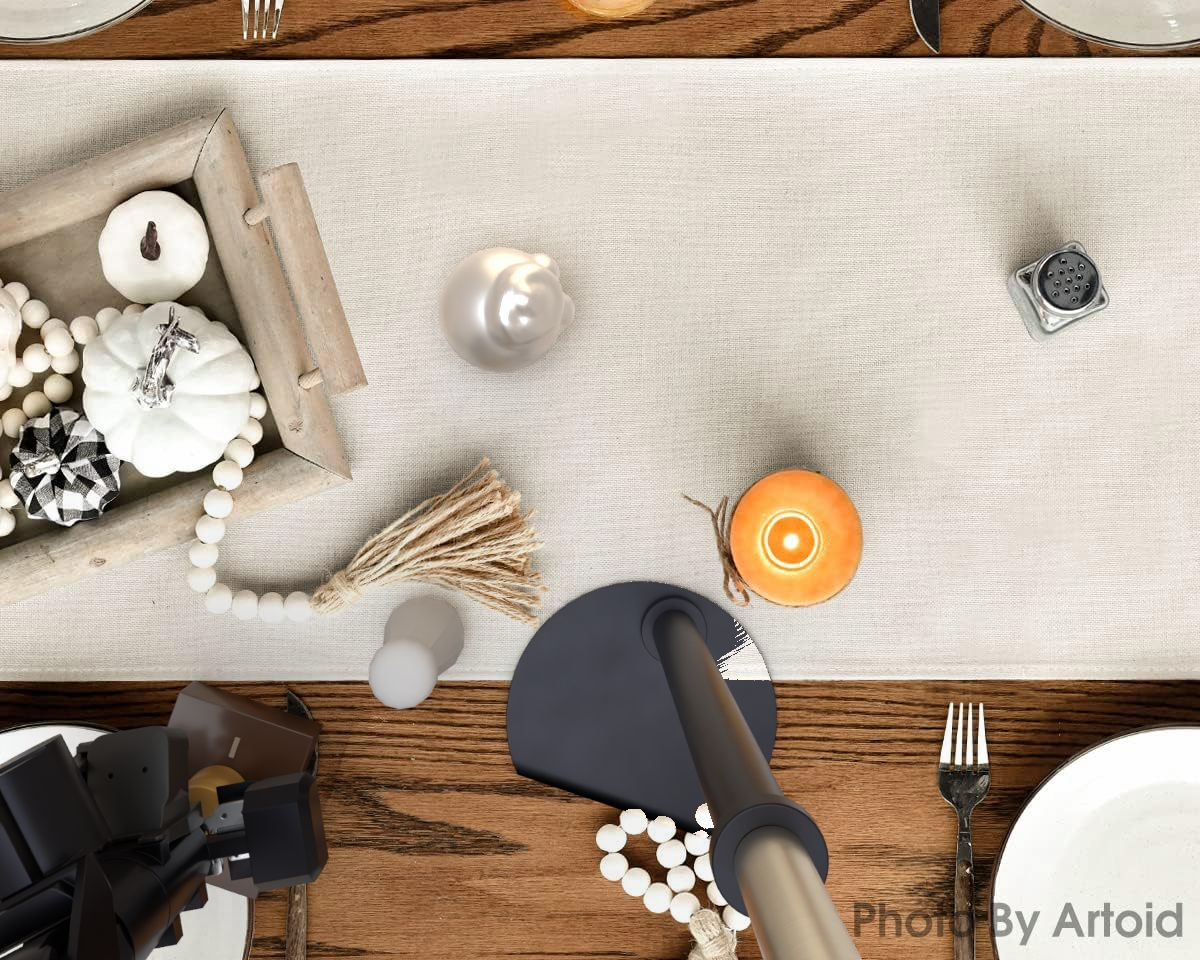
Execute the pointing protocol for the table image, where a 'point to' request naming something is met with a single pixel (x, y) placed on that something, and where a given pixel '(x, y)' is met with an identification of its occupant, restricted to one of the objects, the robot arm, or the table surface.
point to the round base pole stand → (676, 748)
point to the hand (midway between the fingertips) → (215, 799)
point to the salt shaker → (415, 651)
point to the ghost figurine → (504, 308)
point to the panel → (241, 745)
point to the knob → (211, 786)
